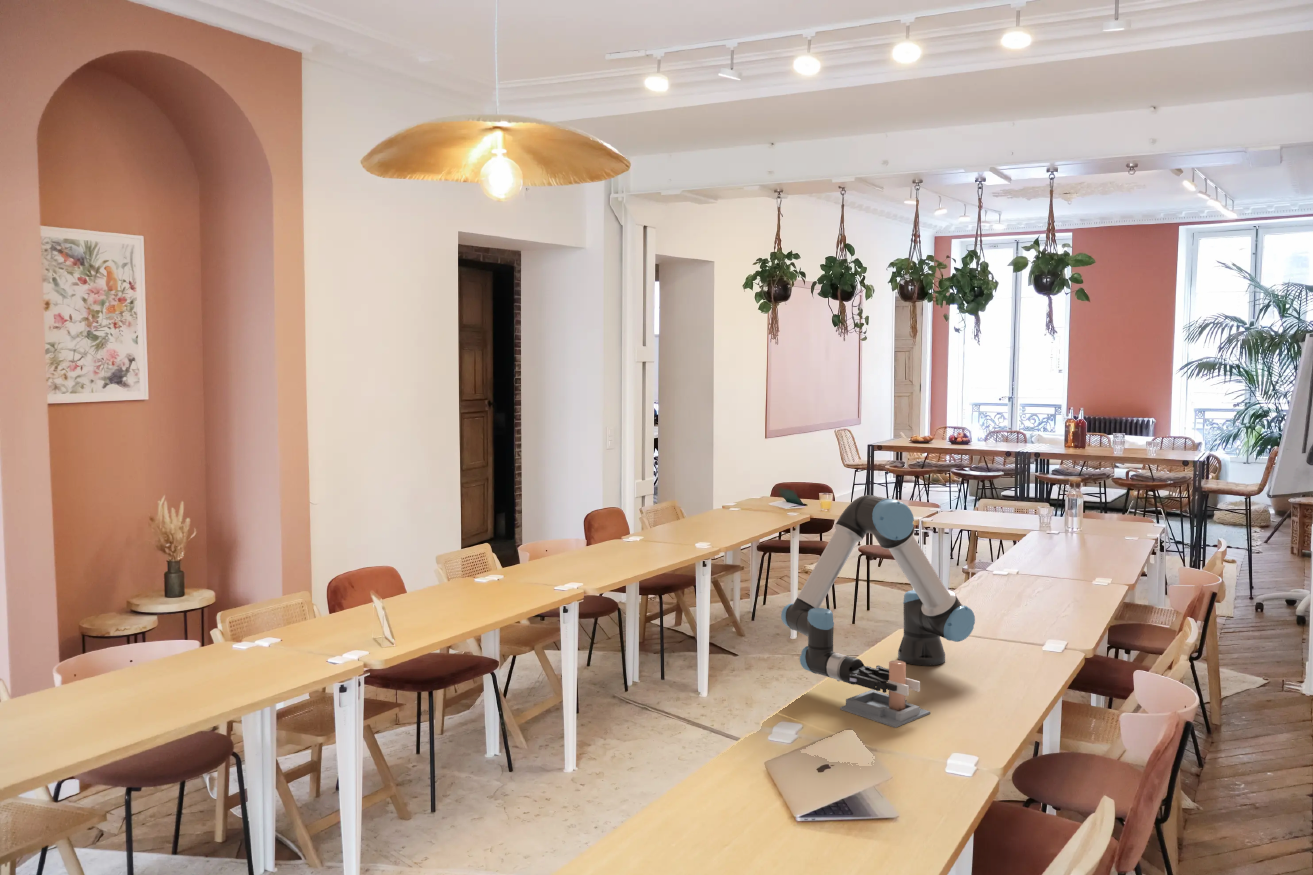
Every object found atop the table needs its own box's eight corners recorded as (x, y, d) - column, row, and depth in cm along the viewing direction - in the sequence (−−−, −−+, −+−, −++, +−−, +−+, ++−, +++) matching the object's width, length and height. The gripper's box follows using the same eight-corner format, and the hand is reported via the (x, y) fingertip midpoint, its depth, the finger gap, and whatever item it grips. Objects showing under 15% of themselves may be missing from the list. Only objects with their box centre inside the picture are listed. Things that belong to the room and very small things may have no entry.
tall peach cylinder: (895, 707, 276) (895, 659, 275) (908, 712, 272) (909, 662, 271) (885, 711, 273) (885, 662, 272) (898, 715, 269) (899, 666, 268)
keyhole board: (875, 696, 288) (875, 687, 288) (930, 713, 274) (930, 704, 273) (840, 709, 278) (840, 700, 278) (895, 727, 263) (895, 718, 263)
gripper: (865, 675, 291) (932, 694, 274) (826, 688, 280) (894, 709, 262) (865, 650, 291) (932, 668, 273) (826, 662, 280) (894, 682, 262)
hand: (913, 688), depth 268 cm, fingers closed on tall peach cylinder, 4 cm apart
